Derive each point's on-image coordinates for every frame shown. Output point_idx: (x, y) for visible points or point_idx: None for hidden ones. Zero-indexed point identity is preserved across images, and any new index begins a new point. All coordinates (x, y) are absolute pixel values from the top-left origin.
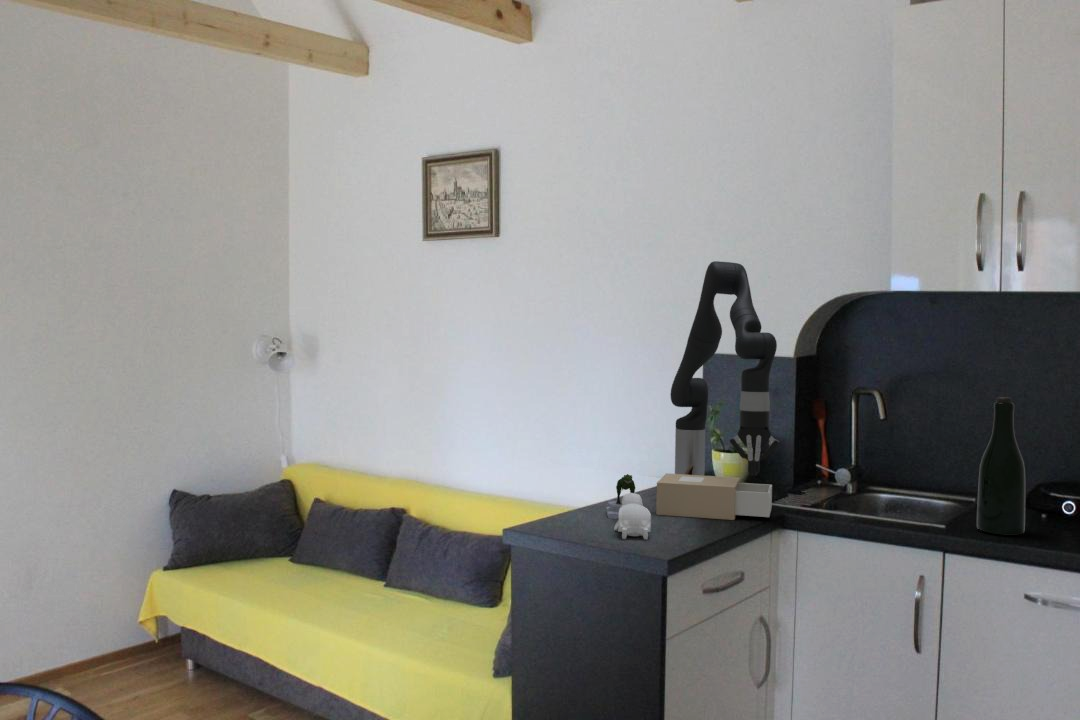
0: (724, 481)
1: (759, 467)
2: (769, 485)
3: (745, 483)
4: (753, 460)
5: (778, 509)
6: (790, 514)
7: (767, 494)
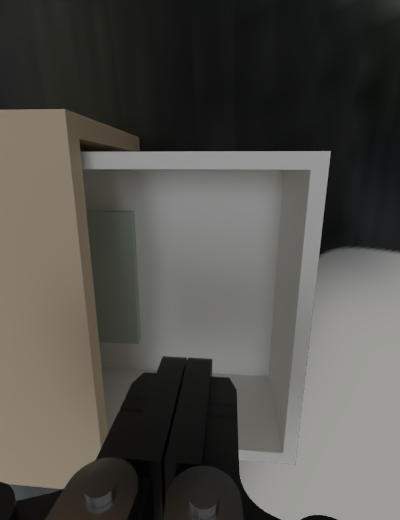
0: (6, 329)
1: (236, 426)
2: (308, 168)
3: (131, 167)
4: (153, 473)
5: (328, 85)
6: (375, 199)
7: (281, 457)
